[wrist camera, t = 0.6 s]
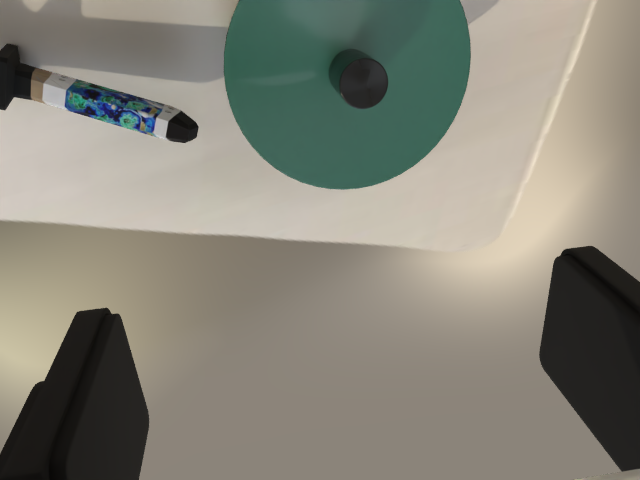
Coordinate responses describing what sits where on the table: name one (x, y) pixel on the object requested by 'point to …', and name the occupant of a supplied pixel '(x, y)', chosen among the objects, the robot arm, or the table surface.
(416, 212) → the table surface
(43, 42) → the table surface
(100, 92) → the knife
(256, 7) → the pot lid
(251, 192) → the table surface
